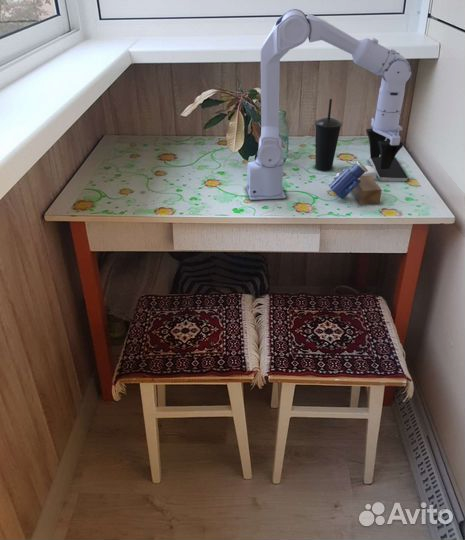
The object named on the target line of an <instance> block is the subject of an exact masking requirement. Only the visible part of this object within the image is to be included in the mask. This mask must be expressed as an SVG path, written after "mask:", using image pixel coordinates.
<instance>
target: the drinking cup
mask: <svg viewBox="0 0 465 540" xmlns="http://www.w3.org/2000/svg"><path fill="white" fill-rule="evenodd" d="M332 104H333V99H332V98H329V100H328V112H327V116H324V117H321V118H317V119H316V120H315V121H314V125H315V137H314V138H315V139H314V140H315V143H314V144H315V145H314V146H315V150H314V151H315V155H314V157H315V159H314V160H315V161H314V162H315V164H314V165H315V169H316V170H318V171H321V172H328V171H329V172H330V171H331V170H332V169H333V164H334V160H335V155H336V152H337V146H338V141H339V136H340V132H341V127H342V126H343V122H342V121H341V120H339V119H337V118H335V117H332V116H331V114H332Z"/></svg>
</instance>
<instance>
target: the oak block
mask: <svg viewBox="0 0 465 540" xmlns="http://www.w3.org/2000/svg"><path fill="white" fill-rule="evenodd" d="M360 179H361V182H360V183H359V184H358V185H357V186H356V187H355V188H354V189H353V190H352V191H351V192H350V193H352V195H353V196H354V198H355V199H356V201H357V202H358V203H359V205H360V206H362V205H363V206H367V205H380V202H381V197H382V188H381V186H379V184H378V183H377V182H376V181H375V179H373V178H372V177H371V176H361V177H360Z"/></svg>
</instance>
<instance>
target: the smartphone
mask: <svg viewBox="0 0 465 540" xmlns="http://www.w3.org/2000/svg"><path fill="white" fill-rule="evenodd" d="M368 160H369V163H370V166H371V167H373V168H374V169H375V171H376V177H377V178H378V180H379V182H408V178H409V177H408V175H407V174H406V172H405V170H404V169H403V167H402V165H401V163H400V162H399V160H398V159H397V158H396V156H395V157H394V159H393V162H392V164H391V166H390V168H389V169H381V168H380V156H379V157H377V158H371V156H370V157H369V159H368Z"/></svg>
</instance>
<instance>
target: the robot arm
mask: <svg viewBox="0 0 465 540" xmlns="http://www.w3.org/2000/svg"><path fill="white" fill-rule="evenodd" d="M307 39H308V43H314V42H318V41H323V42H325V43H327V44H328V45H329V44H330V45H331V46H333V47H334V48H338V49H339V50H342V51H344V52H346V53H348V54H349V55H351V56H352V62H353V63H354V64H356V65H357V66H359V67H361V68H363V69H365V70H367V71H369V72H371V73H373V74H374V75H376V76H381V81H380V86H379V89H378V90H379V91H378V96H377V102H376V110H375V115H374V117H372V118H371V121H370V122H371V123H370V126H371V128H366V129H365V131H366V134H367V137H368V143H369V155H370V157H371V158H377V157H380V168H381V169H389V168H390V166H391V164H392V162H393V159H394V157H396V156H397V154H398V153H399V152H400V150H401V149H402V148H403V145H404V143H403V142H402V141H401V136H400V131H403V126H402V125H400V124H399V123H400V119H401V113H402V108H403V102H404V98H405V97H404V96H405V89H406V88H405V87H406V83H407V82H408V81H409V79H410V78H411V76H412V70H411V64H410V62H409V61H408V60H407V59H406V58H405V56H403V55H402V54H401V53H400V52H398V51H397V50H396V49H394V48H391V49H389V48H387V47H386V46H383V45H381V44H380V43H379V40H378V39H377V38H375V37H372V38H371V39H370V38H369V37H366V38H365V37H364V38H363V39H357V38H355V37H354V36H352V35H350V34H348V33H347V32H346V31H345V32H344V31H343V30H342V29H340V28H338V27H336V26H335V25H333V24H331V23H329V22H328V21H327V20H324V19H323V18H320V17H318V16H315V15H313V14H311V13H308V12H307V13H305V12H304V11H302V10H301V9H298V8H292V9H289V10H287V11H286V12H284V13H283V14H282V15H281V16H280V17H279V18H277V19H276V21H275V23H274V25H273V27H272V29H271V30H270V32H269V34H268V35H267V37H266V38H265V40H264V42H263V43H262V45H261V47H260V110H261V111H260V118H261V119H260V123H261V124H260V126H261V127H260V128H261V130H260V136H259V138H258V150H257V153H256V155H257V156H256V158H255V160H254V161H249V162H247V164H246V166H247V167H246V191H247V194H248V196H249V197H248V198H249V200H250V201H257V200H259V201H260V200H278V199H279V200H281V199H286V198H287V196H286V194H285V193H286V192H285V191H284V189H283V184H284V183H283V181H284V164H285V163H284V161H285V159H284V158H283V156H284V153H283V144H284V142H283V141H284V140H283V137H282V135H281V134H280V85H281V84H280V83H281V82H280V79H281V77H280V76H281V73H280V72H281V59H282V58H283V57H284V56H285V55H286V54H287V53H288V52H290V50H292V49H295V48H297V47H300V46H301V45H303V44H304V43H305V42H306V41H307Z"/></svg>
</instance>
